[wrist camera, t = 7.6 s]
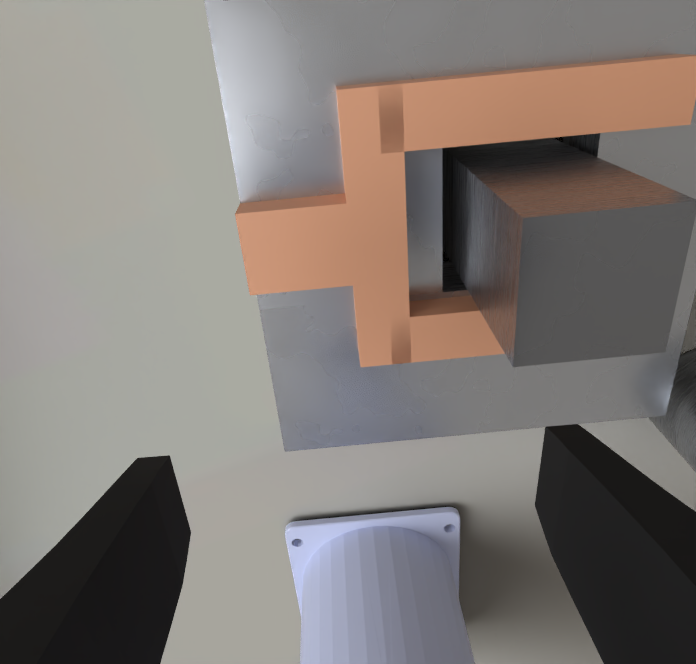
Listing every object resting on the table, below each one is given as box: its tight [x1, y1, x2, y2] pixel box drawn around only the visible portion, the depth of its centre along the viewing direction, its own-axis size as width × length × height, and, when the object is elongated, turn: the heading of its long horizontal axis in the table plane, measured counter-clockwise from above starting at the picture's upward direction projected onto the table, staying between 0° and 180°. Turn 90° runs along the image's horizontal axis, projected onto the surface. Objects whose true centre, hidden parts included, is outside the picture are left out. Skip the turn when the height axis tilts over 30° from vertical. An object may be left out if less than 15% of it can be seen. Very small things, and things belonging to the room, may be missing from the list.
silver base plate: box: [204, 0, 696, 451], centre depth 17 cm, size 16×14×2 cm
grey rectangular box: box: [442, 138, 696, 367], centre depth 15 cm, size 3×3×8 cm
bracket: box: [235, 54, 696, 367], centre depth 16 cm, size 8×12×1 cm, turn 95°
